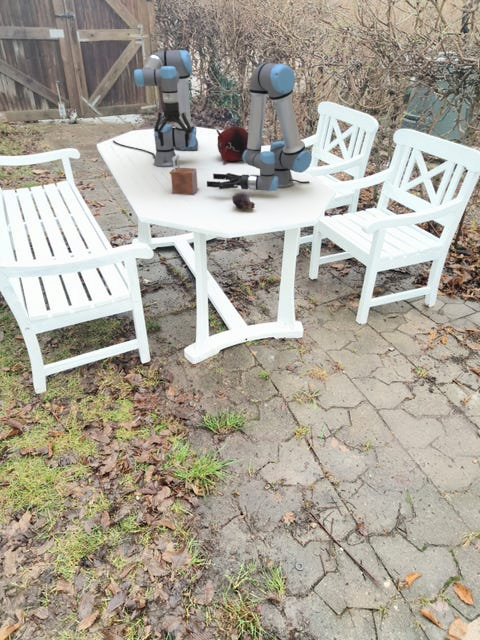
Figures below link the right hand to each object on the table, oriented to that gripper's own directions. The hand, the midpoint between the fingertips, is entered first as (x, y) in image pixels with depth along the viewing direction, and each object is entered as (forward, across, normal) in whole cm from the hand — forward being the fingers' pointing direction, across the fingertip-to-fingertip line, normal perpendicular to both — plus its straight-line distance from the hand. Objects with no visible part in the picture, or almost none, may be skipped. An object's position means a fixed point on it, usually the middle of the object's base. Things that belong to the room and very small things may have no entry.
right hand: (210, 180), depth 242 cm
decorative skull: (+1, +69, -7) cm, 69 cm away
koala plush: (+42, +92, -7) cm, 101 cm away
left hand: (+19, 0, +17) cm, 25 cm away
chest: (+15, 0, -7) cm, 16 cm away
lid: (+15, 0, +3) cm, 15 cm away
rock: (-22, -21, -7) cm, 31 cm away
